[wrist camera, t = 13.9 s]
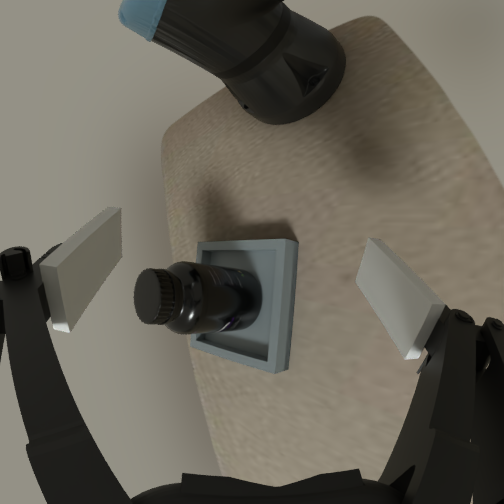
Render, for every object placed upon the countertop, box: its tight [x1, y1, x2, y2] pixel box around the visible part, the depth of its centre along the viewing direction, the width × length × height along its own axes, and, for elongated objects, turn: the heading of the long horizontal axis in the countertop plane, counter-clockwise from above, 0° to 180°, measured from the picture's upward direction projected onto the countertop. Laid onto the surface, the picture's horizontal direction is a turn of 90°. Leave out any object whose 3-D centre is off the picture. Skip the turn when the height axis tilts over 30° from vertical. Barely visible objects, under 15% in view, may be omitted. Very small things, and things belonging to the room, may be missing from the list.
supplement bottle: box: [134, 261, 262, 334], centre depth 29 cm, size 7×7×12 cm
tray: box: [190, 239, 299, 374], centre depth 33 cm, size 13×13×2 cm
